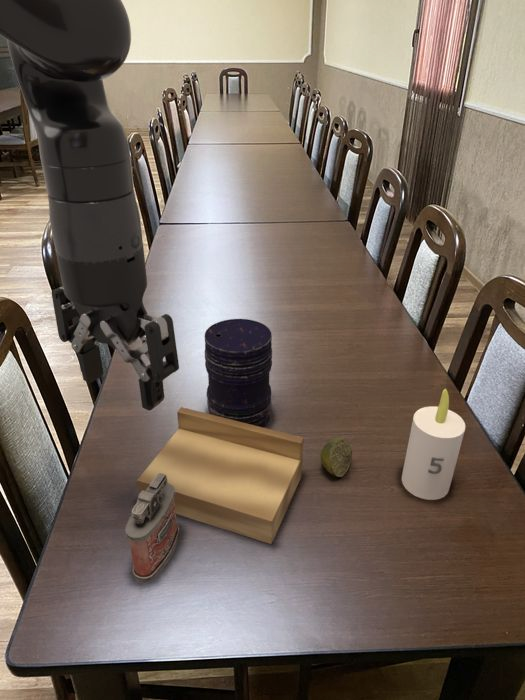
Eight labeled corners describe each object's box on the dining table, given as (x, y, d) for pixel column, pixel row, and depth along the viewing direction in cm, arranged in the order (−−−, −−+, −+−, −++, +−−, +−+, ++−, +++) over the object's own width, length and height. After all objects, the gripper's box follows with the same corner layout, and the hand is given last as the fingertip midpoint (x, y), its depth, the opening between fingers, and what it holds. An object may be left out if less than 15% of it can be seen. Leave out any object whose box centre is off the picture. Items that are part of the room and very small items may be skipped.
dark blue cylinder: (266, 396, 89) (268, 316, 82) (275, 434, 81) (277, 350, 73) (206, 400, 88) (202, 320, 80) (209, 439, 80) (204, 354, 72)
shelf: (271, 544, 64) (272, 502, 60) (140, 502, 69) (134, 462, 66) (301, 476, 74) (303, 437, 70) (184, 444, 79) (181, 406, 75)
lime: (350, 459, 77) (353, 431, 74) (352, 483, 72) (356, 455, 70) (319, 457, 77) (321, 429, 74) (319, 481, 73) (321, 453, 70)
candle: (403, 497, 70) (421, 406, 63) (400, 463, 76) (417, 375, 68) (452, 504, 70) (478, 412, 62) (446, 468, 75) (468, 380, 67)
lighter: (153, 586, 59) (143, 524, 54) (126, 577, 60) (114, 515, 55) (185, 530, 65) (179, 470, 60) (160, 523, 66) (152, 463, 61)
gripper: (12, 239, 48) (47, 387, 57) (126, 274, 42) (148, 436, 50) (78, 217, 54) (102, 356, 62) (189, 246, 47) (198, 396, 55)
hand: (122, 391), depth 56 cm, fingers open, 8 cm apart
